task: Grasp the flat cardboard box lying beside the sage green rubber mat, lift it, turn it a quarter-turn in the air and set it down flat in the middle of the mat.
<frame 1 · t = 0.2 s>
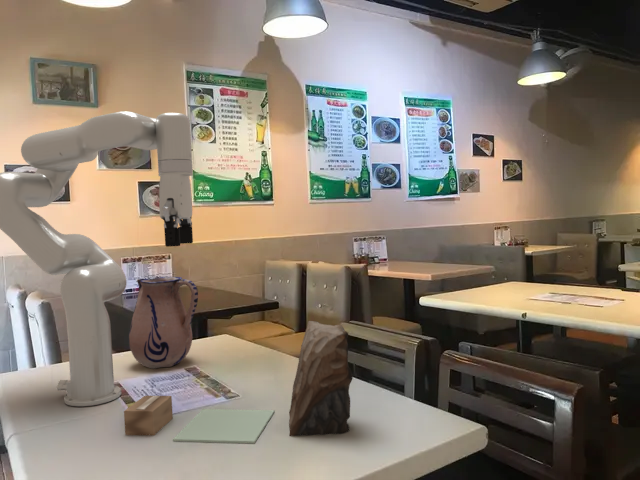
hand: (179, 244, 126), 36 cm above the table, tool pointing down, fingers open, 9 cm apart
mat: (226, 425, 112), on the table
brown rock: (315, 427, 110), on the table
cardboard box: (149, 427, 114), on the table
ceramic pitcher: (168, 365, 160), on the table
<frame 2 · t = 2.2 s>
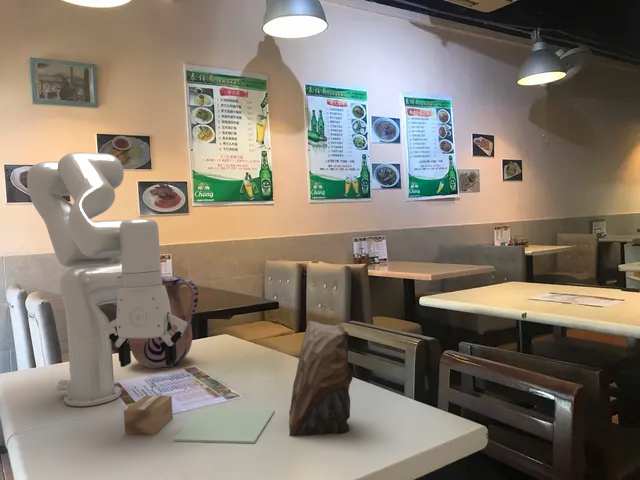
hand: (148, 364, 112), 13 cm above the table, tool pointing down, fingers open, 9 cm apart
nothing on the table moved.
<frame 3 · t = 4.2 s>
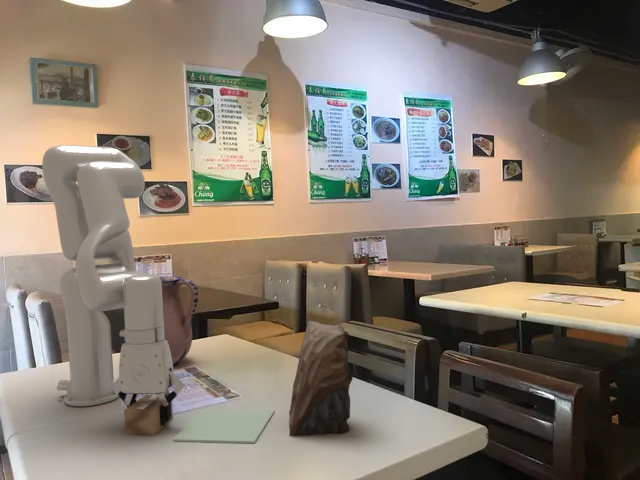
hand: (149, 422, 113), 1 cm above the table, tool pointing down, fingers closed on cardboard box, 6 cm apart
cardboard box: (149, 426, 113), on the table, touching gripper
everything else where it was.
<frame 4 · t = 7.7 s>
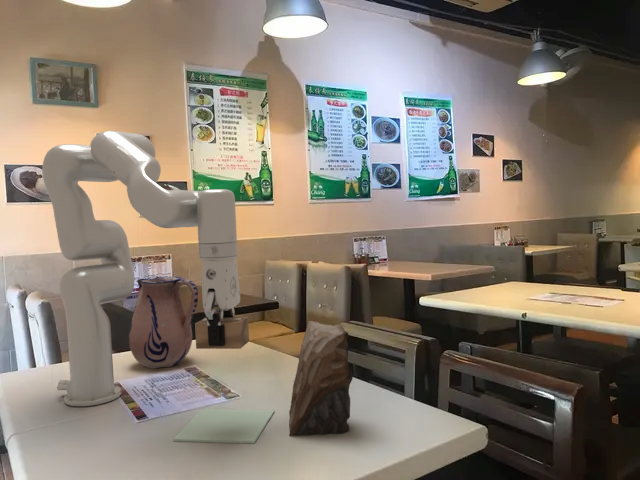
hand: (222, 340, 111), 17 cm above the table, tool pointing down, fingers closed on cardboard box, 6 cm apart
cardboard box: (223, 344, 111), point 17 cm above the table, touching gripper
everything else where it was.
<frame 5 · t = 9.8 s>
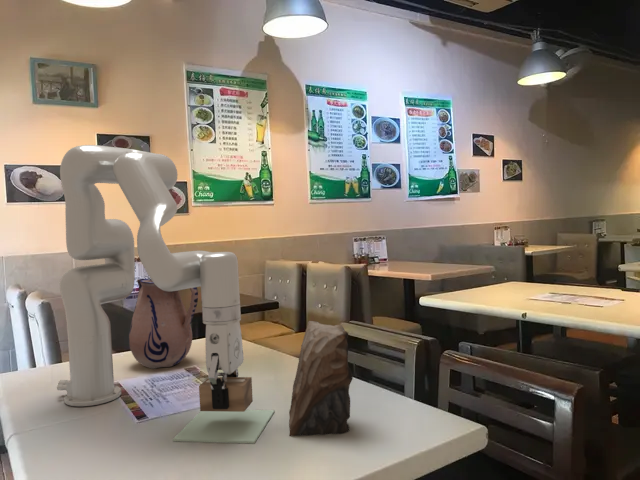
hand: (226, 401, 112), 5 cm above the table, tool pointing down, fingers closed on cardboard box, 6 cm apart
cardboard box: (227, 406, 112), point 4 cm above the table, touching gripper
everything else where it was.
when the fingers open (3 cm above the table, at t = 11.3 s): cardboard box drops 1 cm, resting on mat.
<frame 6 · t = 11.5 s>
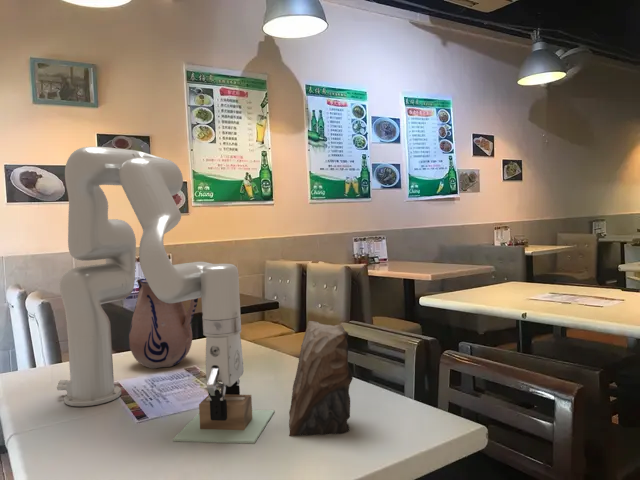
hand: (226, 411, 112), 3 cm above the table, tool pointing down, fingers open, 8 cm apart
cardboard box: (226, 423, 112), resting on mat
everything else where it was.
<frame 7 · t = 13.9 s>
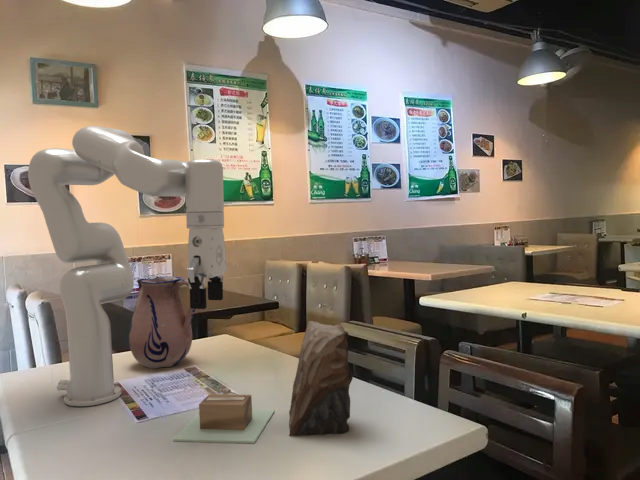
hand: (207, 304, 114), 24 cm above the table, tool pointing down, fingers open, 9 cm apart
nothing on the table moved.
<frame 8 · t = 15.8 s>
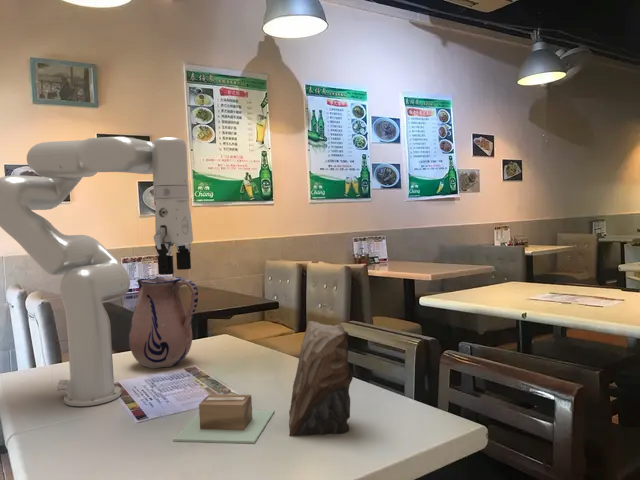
hand: (175, 271, 123), 30 cm above the table, tool pointing down, fingers open, 9 cm apart
nothing on the table moved.
at the end: cardboard box inside the target area on the mat (0.1 cm from its centre), point 0.4 cm above the mat's base; cardboard box tilted 0°; the gripper is holding nothing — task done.
